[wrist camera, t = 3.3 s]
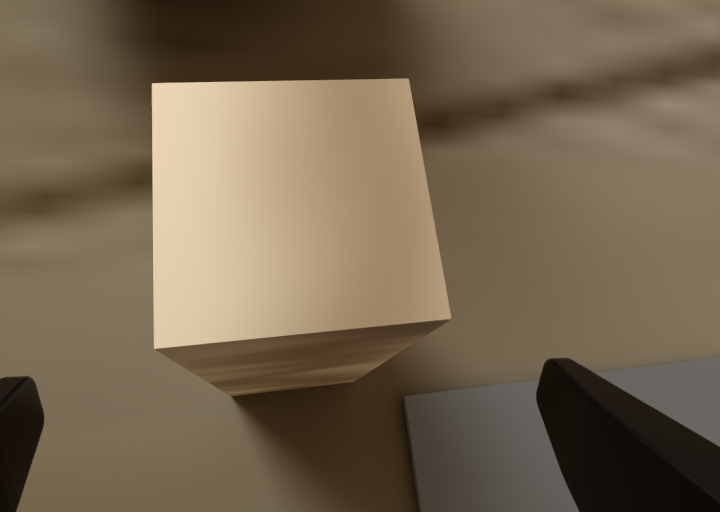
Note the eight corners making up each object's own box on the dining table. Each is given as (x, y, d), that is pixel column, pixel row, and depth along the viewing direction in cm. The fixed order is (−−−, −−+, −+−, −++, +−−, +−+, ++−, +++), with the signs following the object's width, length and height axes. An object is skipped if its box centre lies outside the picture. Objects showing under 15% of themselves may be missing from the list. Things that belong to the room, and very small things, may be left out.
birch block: (231, 396, 19) (154, 348, 8) (225, 276, 20) (152, 83, 9) (354, 381, 20) (451, 318, 8) (340, 267, 21) (408, 78, 10)
